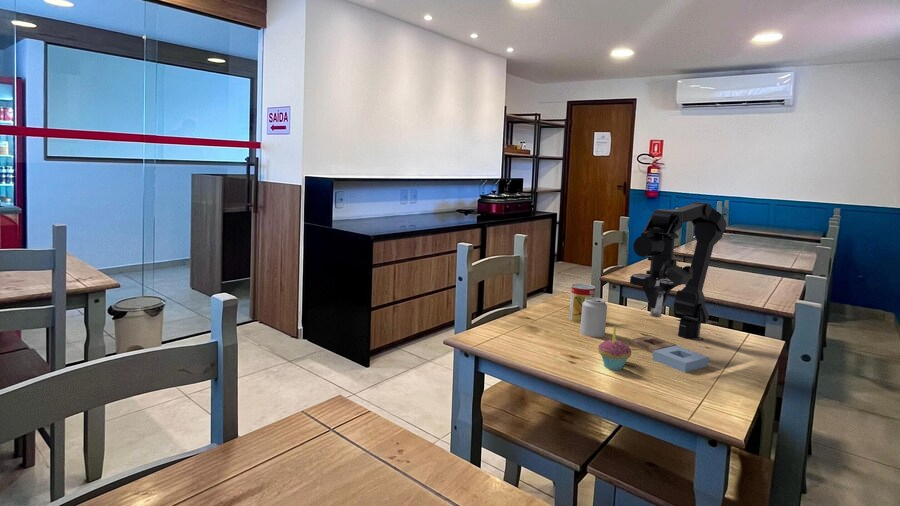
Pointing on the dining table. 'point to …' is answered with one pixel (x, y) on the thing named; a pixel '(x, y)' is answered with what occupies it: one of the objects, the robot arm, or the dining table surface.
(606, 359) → the cupcake
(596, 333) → the can
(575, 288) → the canned food
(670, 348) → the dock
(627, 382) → the dining table surface
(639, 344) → the mount
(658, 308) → the lock pin
